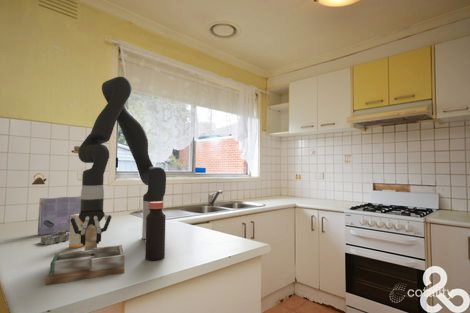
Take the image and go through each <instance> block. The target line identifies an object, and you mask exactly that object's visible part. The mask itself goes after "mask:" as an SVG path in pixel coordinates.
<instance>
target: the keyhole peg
mask: <svg viewBox="0 0 470 313" xmlns="http://www.w3.org/2000/svg"><path fill="white" fill-rule="evenodd" d="M97 233H98V232H97V228H96V225H88V226H87V227H86V230H85V245H84V250H91V249H93V248H98V244H97Z"/></svg>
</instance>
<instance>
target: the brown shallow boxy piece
mask: <svg viewBox="0 0 470 313" xmlns="http://www.w3.org/2000/svg"><path fill="white" fill-rule="evenodd" d="M124 273H125V253H124V248H123V244H118V245H108V246H100V247H98V246H97V248H93V249H91V250H85V249H84V250H78V251H70V252H69V251H67V252H59V253H55V255H54V256H53V258H52V260H51V262H50V266H49V273H48V275H47V277H46V278H45V286H49V285H55V284H61V283H67V282H74V281H78V280H79V281H80V280H86V279H93V278H100V277H107V276H112V275H119V274H124Z"/></svg>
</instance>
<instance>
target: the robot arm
mask: <svg viewBox="0 0 470 313" xmlns="http://www.w3.org/2000/svg"><path fill="white" fill-rule="evenodd" d="M132 90H133V88H132V85H131V82H130V81H129V80H128V78H126V77H124V76H115V77H113V78H111V79H108V80H105V81H104V82H102V84H101V92H102V95H103V97H104V99H105V101H106V105H105V106H104V108H103V109H102V110H101V112H100V113H98V116H97V117H96V119H95V121H94V123H93V126H92V128H91V132H90V133H89V134H88V136H86V138H85V139H84V141H83V142H81V145H80V146H79V148H78V152H77V154H78V158H79V160H80V161H81V162H82V163H85V164H88V163H89V164H92V166H91V168H89V169H85V170H83V171H82V175H81V176H82V178H81V190H80V196H81V207H80V214H79V216H76V217H72V218H71V220H70V221H71V223H72V226H73V229H74V232H75V234H80V235H81V244H83V245H84V246H85V230H86V227H87V226H88V225H96V228H97V245H98V244H100V242H101V241H102V233H104V232H106V231H107V230H108V228H109V225H110V223H111V219H112V215H111V214H106V213H105V212H104V199H105V195H104V194H105V192H104V191H105V190H104V178H105V176H104V175H105V171H106V169H107V165H108V162H109V158H110V150H109V149H108V147H107V146H106V145H105V144H106V143H108V142H109V141H110V139H111V136H112V134H113V131H114V130H115V129H114V128H115V125H116V123H117V124H118V125H119V128H120V131H121V133H122V136H123V138H124V140H125V142H126V144H127V147H128V148H129V151H130V153H131V156H132V158H133V160H134V162H135V165H136V168H137V171H138V174H139V178H140V180H141V182H142V183H143V184H144V185H145V186H147V191H146V193H144V194H143V196H142V199H143V200H142V226H141V228H142V229H141V231H142V232H141V236H142V237H141V239H143V240H146V217H147V215H148V214H149V213H150V210H149V203H150V202H156V201H159V202H163V203H164V198H165V195H166V189H167V187H166V186H167V174H166V171H165V169H164V168H163V167H160V166H154V165H153V163H152V160H151V158H150V155H149V139H148V135H147V134H146V131H145V129H144V126H143V125H142V124H141V122H140V121H139V120H138V119H137V118H135V116H134V115H133V114H131V112H130V111H129V110H128V109H127V107H126V103H127V101H128V100H129V99H130V97H131V94H132ZM162 209H163V210H162V212H163V213H164V207H163V208H162ZM78 219H80V220H81V221H82V222H83V223H84V225H83V228H82V230H79V228H78V225H77V222H78ZM102 219H104V220H105V223H104V225H103V227H101V223H100V222H101V221H102Z"/></svg>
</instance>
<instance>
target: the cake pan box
mask: <svg viewBox="0 0 470 313" xmlns="http://www.w3.org/2000/svg"><path fill="white" fill-rule="evenodd" d="M80 207H81V195H77V196H76V195H75V196H59V197H42V198H39V207H38V217H37V218H38V220H37V222H38V223H37V234H38V235H39V236H47V235H51V234H55V233H56V232H57V231H59V230H63V231H65V232H66V233H67V232H70V215H75V214H80Z"/></svg>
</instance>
